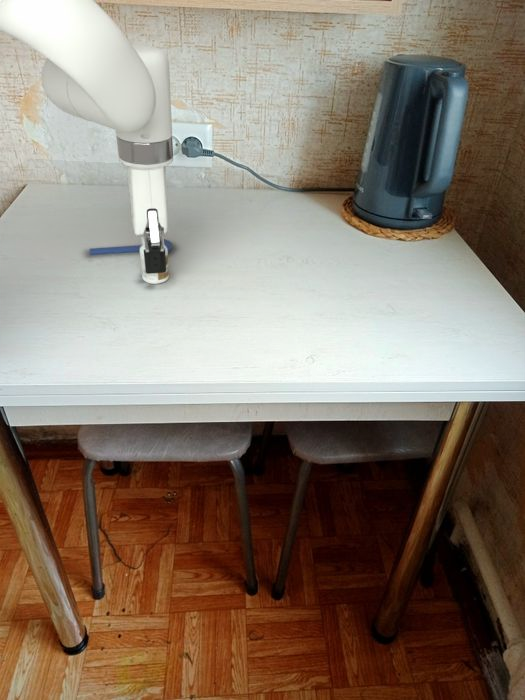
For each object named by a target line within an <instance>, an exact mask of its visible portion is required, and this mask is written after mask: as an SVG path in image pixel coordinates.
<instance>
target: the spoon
mask: <svg viewBox="0 0 525 700" xmlns="http://www.w3.org/2000/svg"><path fill="white" fill-rule="evenodd" d="M164 245H165V246H166V247H167V250H168V253H169V252H171V250H172V243H171V241H170V240H168V239H166V238H164ZM141 246H142V244H139V245H126V246H125V245H124V246H112V247H111V246H109V247H95V248H89V255H90V256H91V255H106V254H121V253H122V254H123V253H136V252H140V247H141Z"/></svg>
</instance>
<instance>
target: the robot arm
mask: <svg viewBox="0 0 525 700" xmlns="http://www.w3.org/2000/svg"><path fill="white" fill-rule="evenodd" d="M0 32H2V33H3V34H5V35H6V36H9V37H11V38H13V39H15V40H16V41H18V42H20V43H22V44H24V45H26V46H27V47H29V48H31V49H33V50H34V51H35V52H37V53H39V54H40V55H42V56H43V57H45V59H46V60H45V62H44V63H43V66H42V68H41V85H42V88H43V91H44V93H45V95H46V96H47V98H48V99H49V101H50V102H51V103H52V104H53V105H54V106H55V107H57V109H59V110H61V111H62V112H63V113H66V114H68V115H72V116H73V117H76V118H78V119H82V120H86V121H87V122H88V121H89V122H92V123H95V124H98V125H101V126H103V127H106V128H108V129H112V130H114V131H115V136H116V144H117V146H116V147H117V153H118V154H117V155H118V161H119V162H120V163H121V164H122V165H124V166H126V172H127V173H126V175H127V185H128V187H127V188H128V196H129V207H130V214H131V221H132V229H133V233H134V235H135V236H137V237H139V236H140V235H141V234H144V241H145V249H144V260H145V270H146V273H147V274H152V273H164V272H166V256H165V248H164V244H163V235H165V234H166V233H167V232H168V190H167V187H168V186H167V170H166V169H167V168H166V166H168V165H170V164H172V163H173V162H174V144H173V143H174V141H173V122H172V101H171V100H172V97H171V78H170V77H171V75H170V62H169V57H168V55H167V54H166V52H165V51H164V50H163V49H161V48H160V47H158V46H154V45H150V44H138V43H131V42H130V40H129V39H128V37H127V36H126V35H125V33H124V32H123V31H122V29H121V28H120V27H119V25H118V24H117V23H116V22H115V21H114V20H113V18H111V16H110V15H109V14H108V13H107V12H106V11H105V10H104V9H103V8H102V6H100V5H99V4H98V3H97V2H96V1H95V0H0ZM148 236H150V240H149V241H148Z"/></svg>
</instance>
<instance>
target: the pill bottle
mask: <svg viewBox="0 0 525 700" xmlns="http://www.w3.org/2000/svg"><path fill="white" fill-rule="evenodd" d="M164 235H165V234H163V244H164V239H165V236H164ZM149 240H150V236H148V241H149ZM140 241H141V245H142V246H141V247H140V251H139V259H140V271H141V278H142V280H143V281H144V282H145V283H148V284H152V285H153V284H154V285H158V284H162V283H165V282H166V281H168V279H169V278H170V271H169V270H170V268H169V266H170V265H169V252H168V250H167V247H166V246H165V245H164V248H165V256H166V272H164V273H152V274H147V273H146V270H145V260H144V249H145V241H144V234H140Z"/></svg>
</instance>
